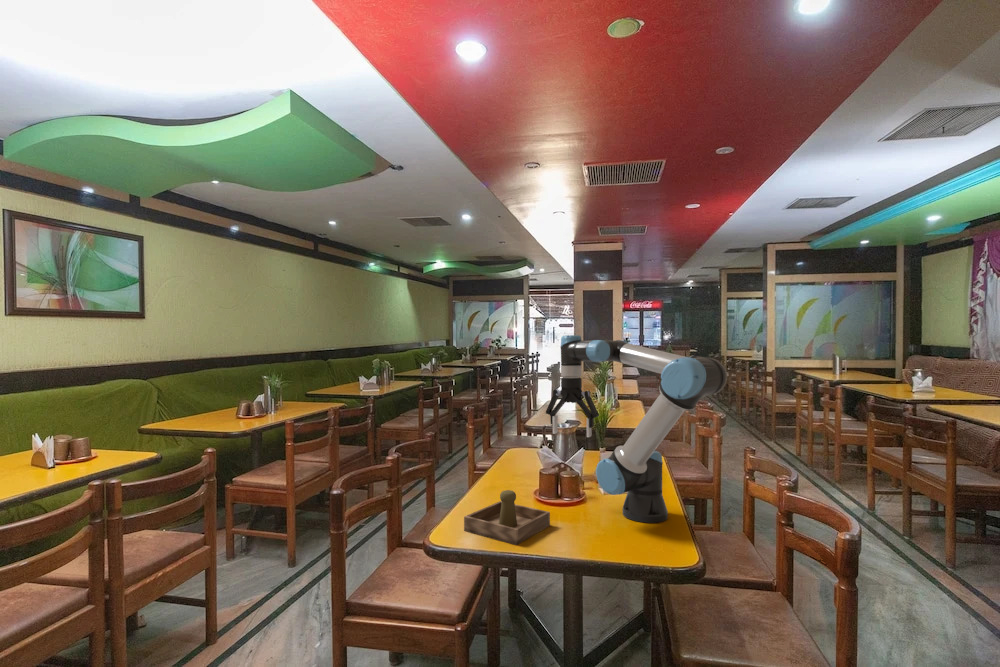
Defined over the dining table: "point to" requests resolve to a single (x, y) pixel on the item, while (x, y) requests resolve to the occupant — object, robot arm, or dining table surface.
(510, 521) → the olive pepper mill
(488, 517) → the tray
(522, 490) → the dining table surface
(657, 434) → the robot arm
